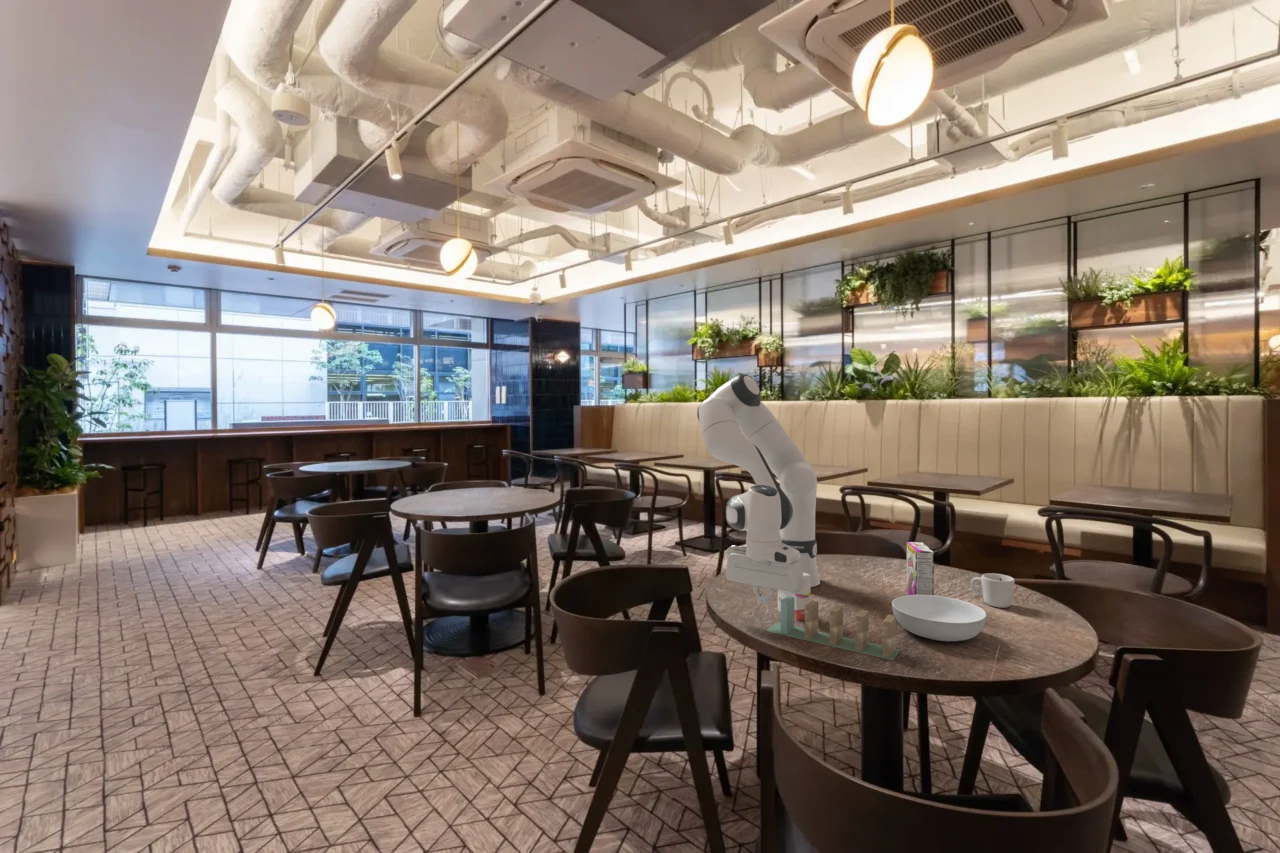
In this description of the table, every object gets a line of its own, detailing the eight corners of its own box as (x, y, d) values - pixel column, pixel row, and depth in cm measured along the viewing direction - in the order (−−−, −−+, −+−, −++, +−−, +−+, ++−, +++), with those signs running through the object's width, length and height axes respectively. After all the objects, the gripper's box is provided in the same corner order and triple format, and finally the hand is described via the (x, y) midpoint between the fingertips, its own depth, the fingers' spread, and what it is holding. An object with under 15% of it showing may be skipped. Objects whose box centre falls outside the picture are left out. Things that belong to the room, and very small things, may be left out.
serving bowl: (969, 622, 155) (970, 596, 154) (999, 656, 134) (1000, 626, 134) (884, 616, 159) (884, 591, 159) (900, 648, 139) (901, 618, 139)
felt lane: (765, 631, 149) (765, 630, 149) (776, 623, 155) (776, 622, 155) (893, 661, 132) (893, 660, 132) (900, 650, 137) (900, 649, 137)
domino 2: (804, 638, 144) (804, 605, 144) (811, 631, 148) (811, 599, 148) (811, 639, 143) (811, 606, 143) (818, 633, 147) (818, 601, 147)
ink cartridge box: (811, 618, 158) (812, 563, 157) (796, 621, 156) (796, 565, 155) (791, 608, 166) (791, 556, 165) (776, 610, 164) (776, 558, 163)
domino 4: (855, 649, 137) (855, 615, 137) (861, 642, 141) (861, 609, 141) (862, 651, 136) (863, 617, 136) (868, 644, 140) (868, 610, 140)
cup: (966, 603, 169) (967, 575, 169) (974, 596, 175) (974, 569, 175) (1010, 612, 162) (1011, 583, 162) (1016, 604, 168) (1017, 576, 168)
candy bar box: (905, 596, 175) (905, 541, 175) (923, 597, 174) (924, 542, 174) (914, 609, 164) (915, 550, 164) (934, 610, 163) (935, 551, 163)
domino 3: (829, 643, 141) (829, 610, 140) (835, 637, 145) (836, 604, 144) (836, 645, 140) (836, 611, 139) (842, 638, 144) (842, 605, 144)
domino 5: (882, 656, 134) (883, 621, 133) (888, 648, 138) (888, 614, 138) (890, 657, 133) (890, 622, 133) (895, 650, 137) (895, 615, 137)
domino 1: (780, 632, 148) (780, 600, 147) (788, 626, 152) (788, 595, 151) (786, 634, 147) (787, 602, 146) (794, 627, 151) (794, 596, 150)
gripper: (721, 546, 156) (721, 598, 156) (797, 558, 144) (796, 614, 144) (732, 541, 161) (732, 592, 161) (806, 552, 149) (805, 607, 150)
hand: (763, 603), depth 153 cm, fingers closed
